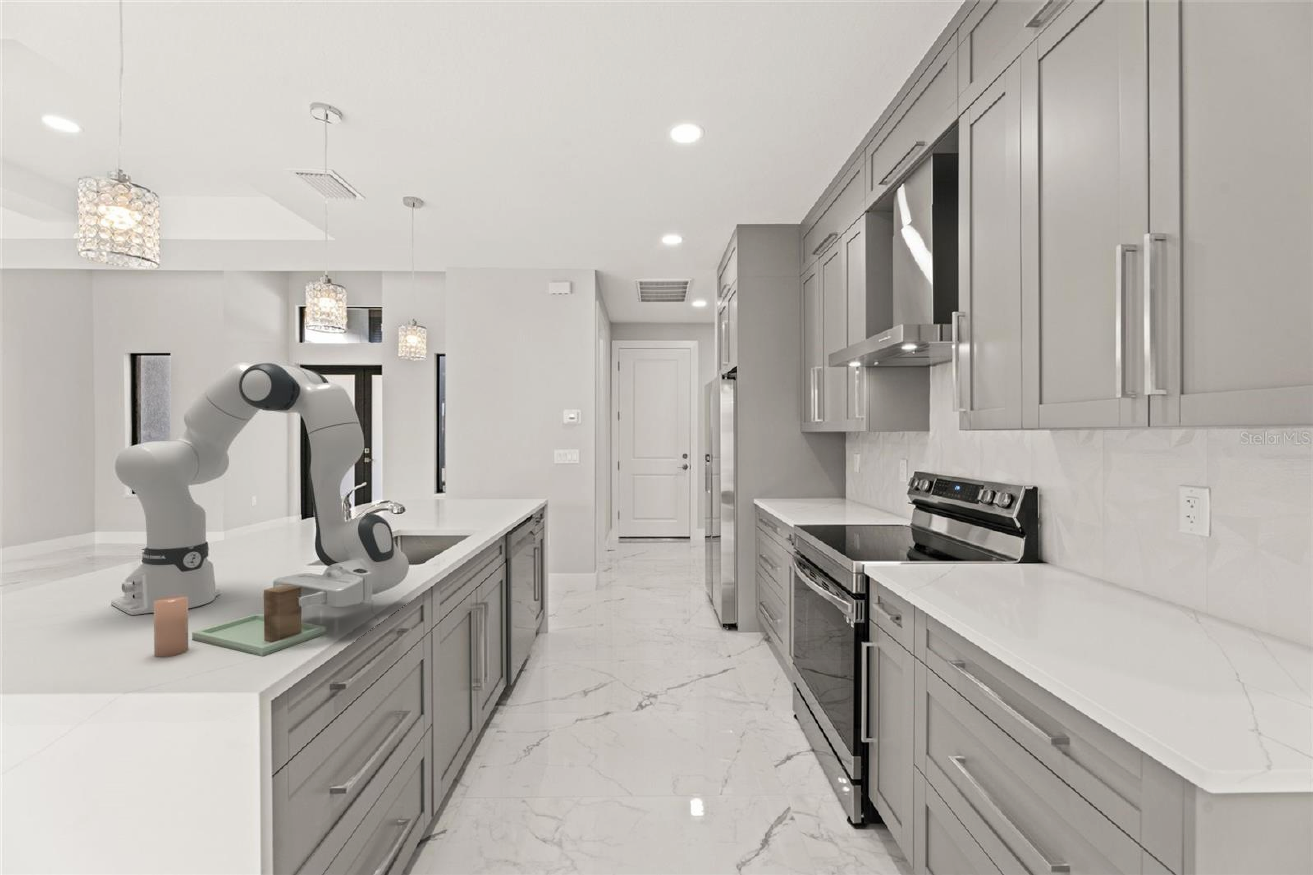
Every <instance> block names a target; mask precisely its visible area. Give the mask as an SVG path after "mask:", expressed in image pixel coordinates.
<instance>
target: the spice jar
mask: <svg viewBox="0 0 1313 875" xmlns="http://www.w3.org/2000/svg"><path fill="white" fill-rule="evenodd" d="M153 627H154V628H153V635H154V636H153V637H154V638H153V643H154V644H153V646H154V648H153V650H154V655H153V656H154V657H155V658H168V657H169V658H170V657H174V656H178V655H181V654H184V653H186V652H188V650H189V608H188V596H183V595H179V596H169V597H164V598H160V599H157V600H155V601H154V613H153Z"/></svg>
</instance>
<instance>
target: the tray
mask: <svg viewBox="0 0 1313 875" xmlns="http://www.w3.org/2000/svg"><path fill="white" fill-rule="evenodd" d="M301 622H302V633H300V634H297V635H294V636H291V637H288V638H285V639H282V640H279V641H276V642H273V643H272V642H267V641H264V613H263V614H262V613H255V614H254V613H253V614H251V615H248V616H245V617H241V618H237V619H234V620H230V621H226V622H223V623H220V624H216V625H211V626H209V627H206V628H203V629H202V628H201V629H199V630H195V631H193V632H191V638H192V639H191V640H192V641H195V642H201V643H206V644H209V645H214V646H217V647H223V648H227V649H231V650H233V651H234V650H235V651H238V652H239V651H240V652H243V653H246V654H252V655H256V656H260V657H264V656H267V655H269V654H273V653H276V652H279V651H280V650H285V649H286V648H289V647H293V646H296V645H298V644H300V643H303V642H307V641H309V640H313V639H316V638H317V637H320V636H323V635H324V636H325V635H326V626H325V625H324V626H323V625H317V624H314V623H308V622H303V621H301Z"/></svg>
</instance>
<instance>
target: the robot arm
mask: <svg viewBox="0 0 1313 875" xmlns="http://www.w3.org/2000/svg"><path fill="white" fill-rule="evenodd" d="M260 410H261V411H266V412H277V413H283V414H289V413H291V414H292V413H297V414H298V415H300V416H301V418H302V419H303V422H304V425H305V428H306V432H307V435H308V440H309V444H310V445H309V446H310V453H311V454H310V455H311V456H310V457H311V458H310V459H311V460H310V465H309V472H308V473H309V474H308V478H309V489H310V495H311V502H312V509H313V513H314V514H313V515H314V522H315V539H314V550H315V553H316V556H317V557H318V559H319V560H320V561H321V563H323V564H324V565H325V566H327V567H326V568H325V570H324V572H323V574H318V573H317V574H316V573H309V572H306V573H296V574H291V575H286V576H283V577H277V578H276V579H274V580H273V582H272V588H274V587H278V586H282V585H293V586H299V587H301V596H299V597H297V598H296V605H297V606H300V607H301V608H304V607H307V606H313V605H314V606H315V605H322V606H328V607H334V608H344V607H349V606H354V605H358V604H364V605H365V604H368V603H370V602H372V598H373V595H376V594H379V593H382V592H385V591H388V590H390V589H393V588H394V587H397V586H399V585H400V584H401V583H402V582H404V580H405V579H406V578H407V575H408V573H409V569H410V563H409V558H408V557H407V555H406V554H405V553H404V552H403V551H401V550H400V549H399V547H398V546H397V544H396V542H395V541H394V537H393V535H394V534H393V531H392V528H391V526H390V524H389V523H388V521H387V520H386V519H385V518H384V517H382V516H381V515H379V514H375V513H368V514H366V515H362V516H359V517H357V518H353V519H351V520H348V521H346V519H345V516H344V510H343V508H344V507H343V502H342V495H341V485H342V481H344V478H345V476H346V475H347V473H348V472H349V471H350V470H351V468H352V467H354V465H355V464H356V463H358V461H359V460H360V459H361V456H362V455H363V453H364V450H365V439H364V432H363V429H362V427H361V423H360V420H359V416H358V413H357V410H356V408H355V406H354V403H353V402H352V399H351V398H350V396H349V393H348V391H346V388H344V387H343V386H342V385H340V384H337V383H333V382H329V380H328V379H327V378H326V377H325V376H323V375H322V374H321V373H319V372H317V371H314V370H311V369H306V368H303V367H299V366H295V365H286V364H285V365H284V364H276V363H270V362H265V363H257V364H254V363H252V362H251V363H250V362H245V361H244V362H238V363H235V364H233V365H232V366H230V367H229V368H228V369H227V370H225V371H224V372H223V373H221V374H220V375H219V376H218V377H217V378H216V379H215V380H214V381H212V383H211V384H210V385H208V387H207V388H205V390H203V392H202V394H200V396H199V397H198V398H197V399H196V400H195V402H193V403H192V405H191V406H190V407H189V408H188V409H187V410H186V412H185V413H184V415H183V421H184V425H185V426H186V429H185V431H184V433H183V434H182V435H181V436H180V437H178V438H177V439H175V440H157V441H156V440H154V441H146V442H141V443H138V444H134V445H131V446H128V447H126V448H124V449H122V451H121V452H119V454H118V456H117V457H116V460H115V463H114V465H115V466H114V469H115V473H116V477H117V478H118V479H119V481H120V482H121V483H122V484H123V485H125V486H126V487H128V488H129V489H131V490H132V491H133V492H134V494H135V495H136V497H137V498H138V500H139V502H140V503H141V505H142V509H143V513H144V517H145V527H146V528H145V529H146V530H145V532H146V547H144V548H142V549H141V551H143V552H141V554H142V559H141V564H140V565H139V566H138V567H137V568H136V569H135V570H134V571H133V572H132V573H131V574H130V575H129V576H127V578H125V579H124V580H125V581H124V582H123V583H122V584H121V590H122V593H124V596H120V597H117V598H115V599H112V600H111V606H113V607H116V608H117V609H118V610H121V611H123V612H124V613H127V614H128V615H131V616H133V615H143V614H151V613H153V614H154V601H155V600H157V599H160V598H164V597H169V596H179V595H183V596H188V609H191V608H196V607H199V606H204V605H206V604H209V603H211V602H213V601H215V600H216V597H218V596H220V595H221V590H220V589H217V588H216V582H215V581H216V580H215V572H214V571H215V570H214V564H213V562H211V561H210V560H208V558H209V549H210V548H209V543H208V541H207V534H206V533H207V525H206V524H207V521H206V520H207V519H206V518H207V517H206V515H207V514H206V510H205V509H204V508H203V507H202V506H201V505H199V504H197V503H196V502H195V501H194V499H193V497H192V495H191V492H190V488H189V486H193V485H202V484H206V483H209V482H212V481H214V480H216V479H219V478H220V477H222V476H223V475H224V474H225V473H226V472H227V471H228V468H229V465H230V459H229V458H230V457H229V454H228V451H229V448H230V447H231V444H232V442H233V441H234V440H235V438H236V437H237V436H238V435H239V434H240V433H241V432H242V430H243V429H244V428H245V427H246V426H247V425H248V423H249V422H251V420H252V419H253V418H254V417H255V415H257V413H258V412H259V411H260ZM263 599H264V593H263Z"/></svg>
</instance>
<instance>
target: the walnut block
mask: <svg viewBox="0 0 1313 875" xmlns="http://www.w3.org/2000/svg"><path fill="white" fill-rule="evenodd" d="M263 594H264V598H263V615H264V641H267V642H272V643H273V642H276V641H279V640H282V639H285V638H288V637H291V636H294V635H297V634H300V633H302V622H303V621H302V607H300V606H297V605H296V598H297V597H299V596H301V587H299V586H293V585H282V586H278V587H274V588H273V587H271V588H267V589H264V590H263Z"/></svg>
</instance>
